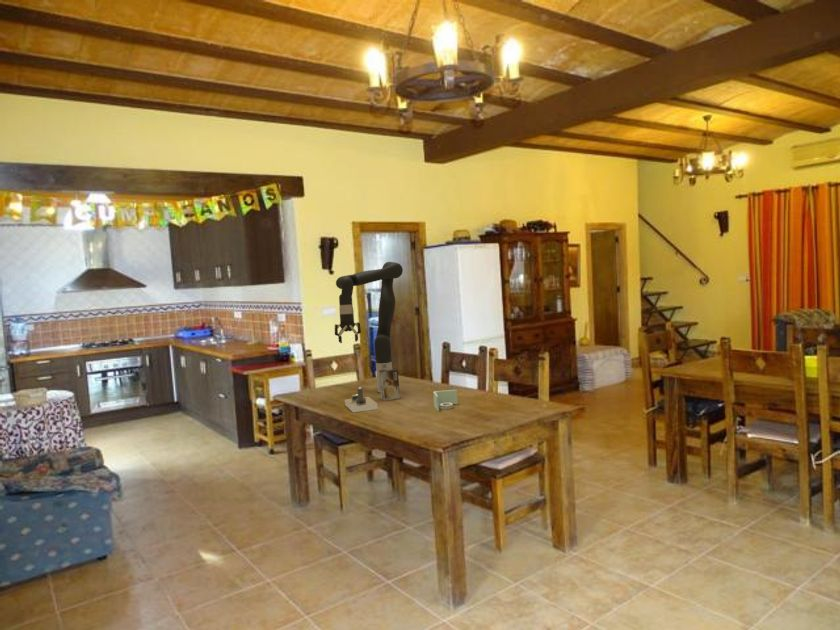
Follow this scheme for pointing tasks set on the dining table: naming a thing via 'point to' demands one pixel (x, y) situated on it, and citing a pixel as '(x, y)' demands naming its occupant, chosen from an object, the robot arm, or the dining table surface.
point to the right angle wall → (445, 399)
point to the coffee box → (389, 384)
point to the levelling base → (360, 404)
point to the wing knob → (360, 395)
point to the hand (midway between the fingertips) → (348, 342)
